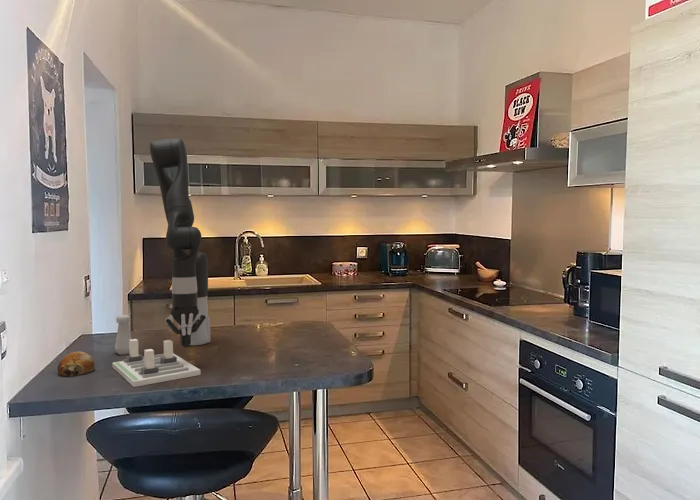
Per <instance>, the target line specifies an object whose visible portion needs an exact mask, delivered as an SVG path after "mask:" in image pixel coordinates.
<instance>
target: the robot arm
mask: <svg viewBox="0 0 700 500" xmlns="http://www.w3.org/2000/svg"><path fill="white" fill-rule="evenodd" d="M149 151H150V157H151V161H152V164H153V168H154V173H155V174H156V178H157V181H158V184H159V189H160V193H161V199H162V205H163V209H164V214H165V218H166V223H167V230H166V232H165V234H166V235H165V245H166V246H167V248H169V249H170V250H172V253H173V260H172V263H171V268H172V272H171V273H172V280H171V307H172V308H171V311H170V315H169V316H168V317H165V318H164V319H163V321H164V322H165V324H166V325H167V327H169V328H170V330H171V331H172V332H173V333H175V334H176V335H179V338H180V339H179V340H180V342H179V343H180V345H181V346H182V347H183V348H187V347H188V348H189V347H190V346H200V345H201V346H202V345H206V344H208V343H211V317H210V316H209V309H208V308H209V305H208V288H209V258H208V255H207V254H206V253H205V252H201V251H200V252H199V250H200V247H201V244H202V237H203V236H202V232H201V231H200V229H199V228H198V227H196V226H193V225H194V222H195V215H194V214H195V213H194V209H193V204H192V201H191V199H190V194H189V172H188V170H189V169H188V168H189V166H188V156H187V149H186V145H185V142H184V141H183V139H182V138H179V137H175V138H174V137H172V138H166V139H165V138H164V139H157V140H153V141H152V140H151V142H150V144H149ZM176 167H177V171H176V175H175V177H174V179H173V180H172V178H171V177H170V175H169V174H168V172H167V170H166V169H169V168H176ZM187 250H188V251H187ZM174 321H175V322H176V323H177V325H178V327H177V326H176V325H175V323H174Z"/></svg>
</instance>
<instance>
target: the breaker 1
mask: <svg viewBox="0 0 700 500" xmlns="http://www.w3.org/2000/svg"><path fill="white" fill-rule="evenodd" d="M129 352H130V353H129V354H128V355H125V358H126V362H127V363H128V362H135V361H141V360H142V357H143V355H141V354H140V353H139V339H137V338H132V339H130V340H129Z"/></svg>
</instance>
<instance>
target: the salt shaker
mask: <svg viewBox="0 0 700 500" xmlns="http://www.w3.org/2000/svg"><path fill="white" fill-rule="evenodd" d="M115 320H116V323H117V324H118V325H117V331H116V338H115V343H114V349H115V351H116V353H117V355H121V356H123V355H124V356H126V355H130V352H129V340H130V339H133V337H132V333H131V329H130V325H129V322H130V321H131V316H130V315H127V314H121V315H118V316H116V319H115Z"/></svg>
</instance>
